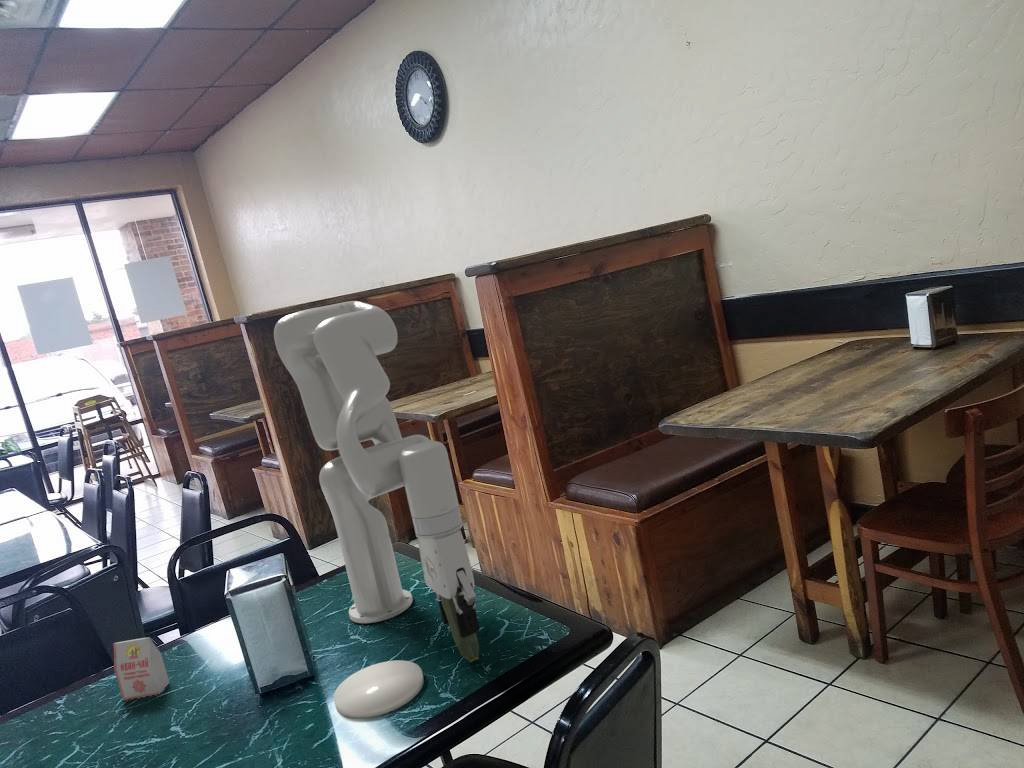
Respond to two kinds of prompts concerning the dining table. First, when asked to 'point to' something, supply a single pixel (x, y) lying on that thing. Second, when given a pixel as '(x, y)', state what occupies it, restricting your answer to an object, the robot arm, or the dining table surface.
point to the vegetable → (465, 645)
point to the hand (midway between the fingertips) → (461, 626)
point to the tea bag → (139, 668)
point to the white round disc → (378, 689)
